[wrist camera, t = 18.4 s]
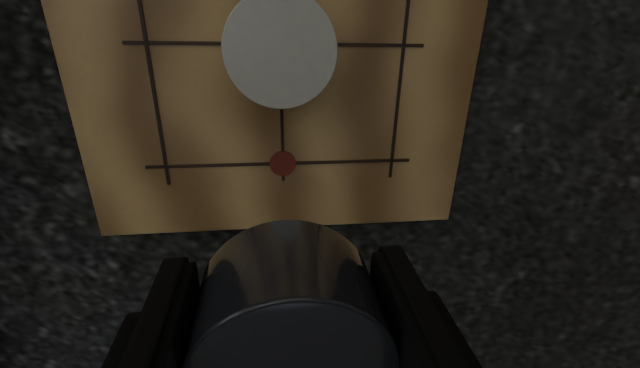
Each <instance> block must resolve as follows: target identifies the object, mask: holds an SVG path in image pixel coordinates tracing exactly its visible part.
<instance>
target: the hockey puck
mask: <svg viewBox="0 0 640 368" xmlns="http://www.w3.org/2000/svg"><path fill="white" fill-rule="evenodd" d="M181 368H400V355H399V351H398V347H397V344H396V342H395V339H394V336H393V334H392V331H391V329H390V326H389V324H388V321H387V319H386V316H385V313H384V311H383V308H382V306H381V303H380V301H379V298H378V296H377V293H376V290H375V288H374V285H373V283H372V280H371V278H370V275H369V273H368V270H367V267H366V265H365V262H364V260H363V258H362V256H361V254H360V253H359V252H358V250H357V249H356V247H355V246H354V245H353V244H352V243H351V242H350V241H349V240H348V239H346V238H345V237H344V236H342V235H341V234H340V233H338V232H336V231H334V230H332V229H331V228H328V227H326V226H323V225H321V224H317V223H313V222H309V221H302V220H278V221H271V222H267V223H262V224H259V225H256V226H253V227H251V228H248V229H246V230H244V231H242V232H240V233H239V234H237V235H236V236H234V237H232V238H231V239H230V240H228V241H227V242H226V243H225V244H224V245H222V246H221V247H220V249H219V250H218V251H217V252H216V253H215V254H214V255H213V257H212V258H211V260H210V261H209V263H208V265H207V267H206V269H205V271H204V275H203V278H202V282H201V286H200V290H199V294H198V298H197V303H196V307H195V311H194V315H193V319H192V323H191V327H190V331H189V336H188V340H187V344H186V348H185V352H184V356H183V360H182V364H181Z"/></svg>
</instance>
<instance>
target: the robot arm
mask: <svg viewBox="0 0 640 368" xmlns="http://www.w3.org/2000/svg"><path fill="white" fill-rule="evenodd" d="M370 278H371V280H372V283H373V285H374V288H375V290H376V293H377V296H378V298H379V301H380V303H381V306H382V308H383V311H384V313H385V316H386V319H387V321H388V324H389V326H390V329H391V331H392V334H393V336H394V339H395V342H396V344H397V347H398V351H399V355H400V368H482V366H481V365H480V363H479V361H478V360H477V358H476V356H475V355H474V353H473V352H472V350H471V348H470V347H469V345H468V343H467V342H466V340H465V338H464V337H463V335H462V333H461V332H460V330H459V328H458V327H457V325H456V323H455V322H454V320H453V319H452V317H451V315H450V314H449V312H448V310H447V309H446V307H445V305H444V304H443V302H442V300H441V299H440V297H439V296H438V294H437V293H436V292H434V291H427V290H426V289H425V287H424V285H423V283H422V282H421V280H420V278H419V276H418V275H417V273H416V271H415V269H414V268H413V266H412V264H411V262H410V261H409V259H408V257H407V255H406V254H405V252H404V250H403V248H402V247H401V246H400V245H393V246H380V247H379V249H378V252H373V253H372V258H371V269H370ZM199 290H200V286H199V279H198V271H197V265H196V263H195V262H189V260H188V258H187V257H177V258H165V259H164V260H163V261H162V264H161V266H160V269H159V271H158V273H157V276H156V278H155V281H154V283H153V285H152V288H151V290H150V293H149V295H148V297H147V300H146V302H145V304H144V307H143V309H142V312H134V313H129V314H128V315H126V317H125V319H124V320H123V323H122V325H121V327H120V329H119V331H118V333H117V335H116V338H115V340H114V342H113V344H112V346H111V348H110V350H109V353H108V355H107V357H106V359H105V361H104V363H103V366H102V368H181V364H182V360H183V356H184V352H185V348H186V344H187V340H188V336H189V331H190V327H191V323H192V319H193V315H194V311H195V307H196V303H197V298H198V294H199Z"/></svg>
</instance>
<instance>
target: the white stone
mask: <svg viewBox="0 0 640 368" xmlns="http://www.w3.org/2000/svg"><path fill="white" fill-rule="evenodd" d="M221 53H222V59H223V63H224V66H225V69H226V71H227V74H228V76H229V78H230V79H231V81H232V82H233V84H234V85H235V87H236V88H237V89H238V90H239V91H240V92H241V93H242V94H243V95H244V96H246V97H247V98H248V99H250V100H251V101H253V102H255V103H257V104H259V105H262V106H265V107H268V108H273V109H289V108H294V107H298V106H301V105H303V104H305V103H307V102H309V101H311V100H312V99H314V98H315V97H316V96H317V95H318V94H320V93H321V92H322V90H323V89H324V88H325V87H326V85H327V84H328V82H329V81H330V79H331V77H332V75H333V72H334V69H335V66H336V62H337V54H338V46H337V38H336V34H335V30H334V27H333V25H332V22H331V20H330V18H329V17H328V15H327V13H326V12H325V11H324V9H323V8H322V7H321V6H320V5H319V4H318V3H317V2H316V1H315V0H241V1H240V2H239V3H238V4H237V5H236V6H235V7H234V9H233V10H232V11H231V13H230V15H229V16H228V18H227V20H226V23H225V25H224V29H223V33H222V40H221Z"/></svg>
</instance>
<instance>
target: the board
mask: <svg viewBox="0 0 640 368" xmlns="http://www.w3.org/2000/svg"><path fill="white" fill-rule="evenodd" d="M240 1H241V0H41V3H42V7H43V11H44V15H45V19H46V22H47V26H48V30H49V34H50V38H51V42H52V46H53V50H54V53H55V57H56V61H57V65H58V69H59V73H60V77H61V81H62V84H63V88H64V92H65V96H66V100H67V104H68V108H69V111H70V115H71V119H72V123H73V127H74V131H75V135H76V139H77V142H78V146H79V150H80V154H81V158H82V162H83V166H84V170H85V173H86V177H87V181H88V185H89V189H90V193H91V197H92V201H93V204H94V208H95V212H96V216H97V220H98V224H99V228H100V232H101V235H102V236H107V235H128V234H149V233H170V232H191V231H212V230H233V229H248V228H251V227H253V226H256V225H259V224H262V223H267V222H271V221H278V220H302V221H309V222H313V223H317V224H321V225H339V224H360V223H381V222H402V221H423V220H444V219H448V218H449V212H450V207H451V201H452V196H453V190H454V185H455V179H456V174H457V168H458V163H459V157H460V152H461V146H462V141H463V136H464V130H465V125H466V119H467V114H468V108H469V103H470V97H471V92H472V86H473V81H474V75H475V70H476V64H477V59H478V53H479V48H480V42H481V37H482V31H483V26H484V21H485V15H486V10H487V4H488V0H315V1H316V2H317V3H318V4H319V5H320V6H321V7H322V8H323V9H324V11H325V12H326V13H327V15H328V17H329V18H330V20H331V22H332V25H333V27H334V30H335V34H336V38H337V46H338V54H337V62H336V66H335V69H334V72H333V75H332V77H331V79H330V81H329V82H328V84H327V85H326V87H325V88H324V89H323V90H322V92H321V93H320V94H318V95H317V96H316V97H315V98H314V99H312V100H311V101H309V102H307V103H305V104H303V105H301V106H298V107H294V108H289V109H273V108H268V107H265V106H262V105H259V104H257V103H255V102H253V101H251V100H250V99H248V98H247V97H246V96H244V95H243V94H242V93H241V92H240V91H239V90H238V89H237V88H236V87H235V85H234V84H233V82H232V81H231V79H230V78H229V76H228V74H227V71H226V69H225V66H224V63H223V59H222V53H221V40H222V33H223V29H224V25H225V23H226V20H227V18H228V16H229V15H230V13H231V11H232V10H233V9H234V7H235V6H236V5H237V4H238V3H239V2H240Z"/></svg>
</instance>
